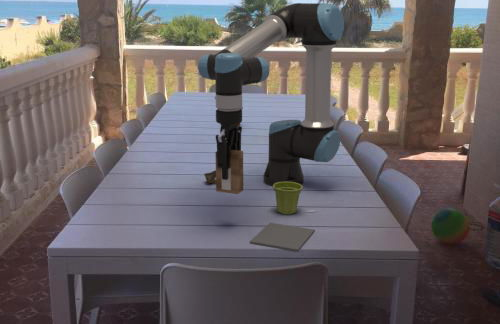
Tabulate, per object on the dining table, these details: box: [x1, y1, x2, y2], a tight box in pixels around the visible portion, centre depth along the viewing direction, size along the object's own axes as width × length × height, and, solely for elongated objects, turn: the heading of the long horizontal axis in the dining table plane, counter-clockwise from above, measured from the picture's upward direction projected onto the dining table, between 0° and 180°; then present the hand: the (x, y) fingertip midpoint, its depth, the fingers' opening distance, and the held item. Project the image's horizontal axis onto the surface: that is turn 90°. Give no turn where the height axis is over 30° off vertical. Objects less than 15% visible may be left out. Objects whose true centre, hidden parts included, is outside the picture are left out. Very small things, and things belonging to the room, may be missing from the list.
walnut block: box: [215, 150, 244, 195], centre depth 173 cm, size 4×7×12 cm, turn 68°
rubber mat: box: [249, 222, 316, 252], centre depth 169 cm, size 16×14×1 cm
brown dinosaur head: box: [203, 169, 216, 184], centre depth 218 cm, size 8×6×7 cm
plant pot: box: [272, 182, 303, 215], centre depth 189 cm, size 9×9×9 cm
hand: (229, 186), depth 175 cm, fingers closed on walnut block, 4 cm apart
